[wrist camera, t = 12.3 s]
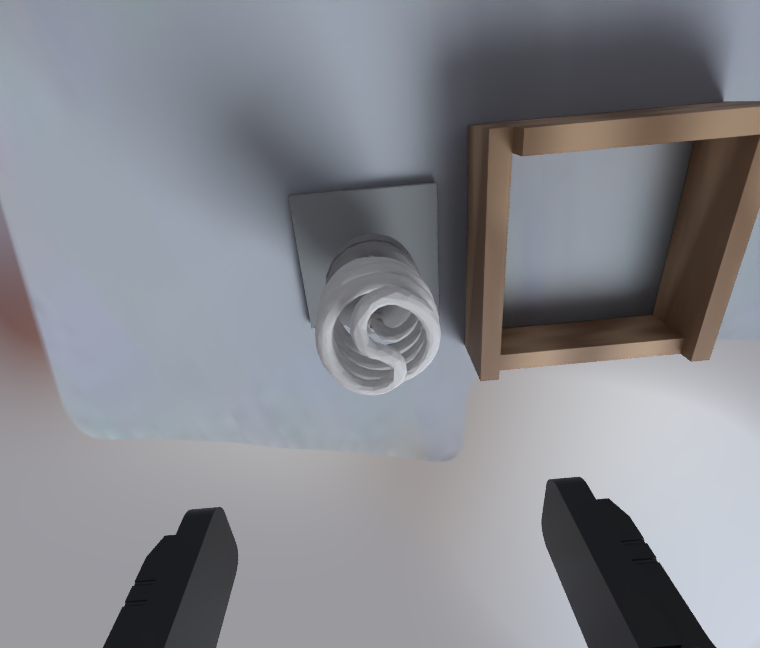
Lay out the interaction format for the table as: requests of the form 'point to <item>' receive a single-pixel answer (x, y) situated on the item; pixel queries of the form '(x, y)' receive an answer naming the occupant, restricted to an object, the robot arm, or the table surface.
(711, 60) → the table surface
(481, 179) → the wooden frame
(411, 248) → the slate mat
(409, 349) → the light bulb
